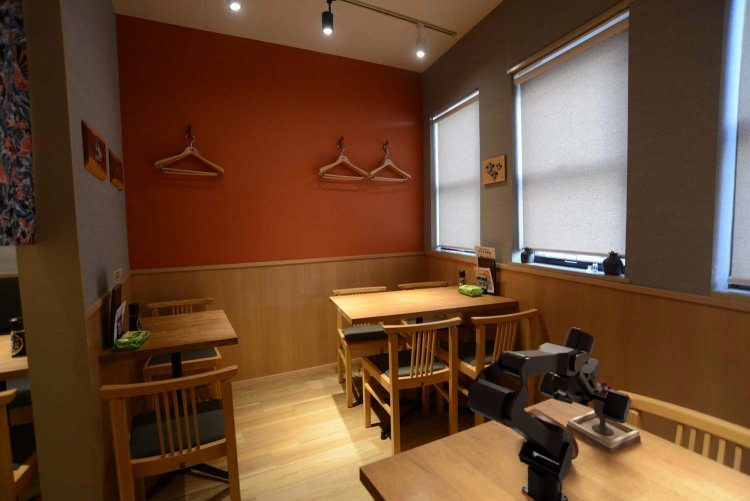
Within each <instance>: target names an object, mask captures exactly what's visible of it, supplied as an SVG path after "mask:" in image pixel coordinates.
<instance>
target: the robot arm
mask: <svg viewBox="0 0 750 501" xmlns="http://www.w3.org/2000/svg"><path fill="white" fill-rule="evenodd" d="M595 342H596V338H595V337H594V336H593V335H591V334H590V333H588V332H585V331H583V330H582V328H578V327H571V329H569V330H568V331H567V335H566V337H565V340H564V343H563V345H559V344H555V343H550V342H545V343H543V344H540V345H539V347H538V349H531V350H520V351H519V350H518V351H511V350H507V351H505V350H504V351H502V352H501V353H500V355H499V356H498V358H497V359H496V360H495V361H494V362H493V363H491V364H489V365H488V366H486V367H484V368H482V369H481V370H480V371H479V372H478V374H477V375H476V377H475V378H474V380H473V381H472V383H471V385H470V386H469V388H468V391H467V400H468V403H467V405H468V407H469V409H470V410H471V411H472V412H475V413H477V414H479V415H481V416H483V417H485V418H488V419H490V420H492V421H494V422H495V423H499V424H500V425H503V426H505V427H506V428H510V430H513V431H514V432H515V433H517V434H518V435H519V436H520V437H522V438H524V439H523V442H522V443H521V444H522V445H521V447H520V450H519V452H518V459H519V462H520V463H523V464H525V465H527V484H525V485H522V486H521V490H522V491H523V493H525V494H526V495H527V496H528V497H530V498H531V499H532V500H533V501H569V496H568V495H566V494H565V493H563V492H562V491H563V481H564V480H565V479H566V478H567V476H568V475H569V474H570V473H571V469H572V468H571V467H572V461H573V460H572V456H573V445H572V444H571V440H570V438H569V437H568V435H569V433H568V432H566V431H564V429H563V428H561V427H560V426H557V425H555V424H552V423H550V422H547V421H545V420H543V419H540V418H538V417H535V416H533V417H532V416H531V415H530V414H529V413H528V412H527V411H526V410H525V408H526V406H527V404H528V402H529V401H530V394H529V388H528V387H529V386H528V381H529V379H530V378H531V376H537V375H542V376H541V379H540V382H539V384H538V390H539V392H540V393H541V395H543V396H546V397H547V398H550V399H553V400H556V401H559V402H562V403H565V404H569V405H573V403H576V404H578V405H581V406H584V407H589V404H590V403H591V402H593V401H595V402H598V403H601V404H604V406H603V415H604V418H607V419H609V420H612V421H615V422H619V423H621V424H623V423H624V424H625V423H626V422H627V419H628V415H629V411H630V408H631V404H632V399H631V397H630V396H629V394H627V393H624V392H621V391H618V390H614V389H613V388H612V389H613V390H612V389H610V390H609V391H608V393H607V394H604V393H601V392H598V391H595V390H593V389H596V387H597V383H598V382H597V379H598V377H599V375H601V368H600V362H599V360H598V359H596V358H593V357H591V355H592V353H593V352H592V351H593V349H594V346H595ZM506 374H508V375H509V374H510V375H511V376H515V377H518V378H519V384H520V385H519V387H518V389H517V390H516V391H515V390H512V389H511V388H508V387H504V386H501V385H499V384H497V383H494V382H495V381H497V380H499V379H500V378H502V377H504V375H506ZM597 395H598V396H597ZM601 396H602V397H601Z"/></svg>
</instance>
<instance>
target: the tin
mask: <svg viewBox="0 0 750 501" xmlns="http://www.w3.org/2000/svg"><path fill="white" fill-rule="evenodd" d="M526 412H528V413H529V414H530V415H531V416H532V417H533V416H535V417H538V418H540V419H543V420H545V421H547V422H550V423H552V424H555V425H557V426H560V427H561V428H563V429H564V431H566V432H568V433H569V435H568V437H569V438H570V440H571V444H572V445H573V456H572V461H573V460H576V459H577V457H578V456H579V451H580V449H579V444H578V442H577V439H576V437H575V435H574V434H573V432H572V431H570V430H569V429H568V428H566V426H565V425H564V424H562V423H561V422H559V421H557V420H556V419H555V418H552V417H551V416H549V415H547V413H545V412H544V411H541V410H540V409H537V408H531V409H530V410H527V411H526Z"/></svg>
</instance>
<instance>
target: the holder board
mask: <svg viewBox="0 0 750 501" xmlns="http://www.w3.org/2000/svg"><path fill="white" fill-rule="evenodd" d="M599 423H600V417H599V416H597V415H596V413H595V412H594V410H591V411H589V412H586V413H583V414H580V415H578V416H575V417H573V418H570V419H568V420H567V423H566V426H565V427H566V428H568V429H569V431H570V432H571V433H572V434H573V433H574V434H575V435H577V436H579V437H581V438H582V439H584V440H586V441H588V442H589V443H591V444H593V445H594V446H596V447H598V448H600V449H602V450H603V451H605V452H606V453H608V454H610V455H612V454H614V453H616V452H618V451H620V450H623V449H624V448H627V447H629V446H631V445H633V444H636V443H638V442H640V441H641V437H642V436H641V435H640V431H639V430H638V429H635V428H633V427H632V426H630V425H628V424H625V423H623V424H621V423H619V422H615V421H612V420H609V419H607V418H606V419H605V424H606V426H607V427H609V428H611V429H612V430H613V432H614V434H613V435H610V436H606V435H601V434H598V433H596V432H595V431H594V430H593V429H592V426H593V425H595V424H599Z"/></svg>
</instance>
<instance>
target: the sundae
mask: <svg viewBox="0 0 750 501" xmlns="http://www.w3.org/2000/svg"><path fill="white" fill-rule="evenodd" d="M612 379H614V376H610V377H609V378H608V379H606V380H602V381H601V382H596V383H597V387H596V389H593V390H595V391H598V392H601V393H604V394H607V393H608V391H609V390H610V389H612V390H614V389H613V385H612V384H611V381H612ZM608 381H609V383H608ZM597 396H598V395H597ZM601 397H602V396H601ZM603 406H604V404H601V403H598V402H595V401H592V407H593V411H594V412H595V413H596V415H597V416H599V417H600V423H599V424H595V425H593V426H592V429H593V430H594V431H595V432H596V433H598V434H601V435H606V436H610V435H613V434H614V432H613V430H612V429H611V428H609V427H607V426H606V424H605V419H606V418H604V415H603Z"/></svg>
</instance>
